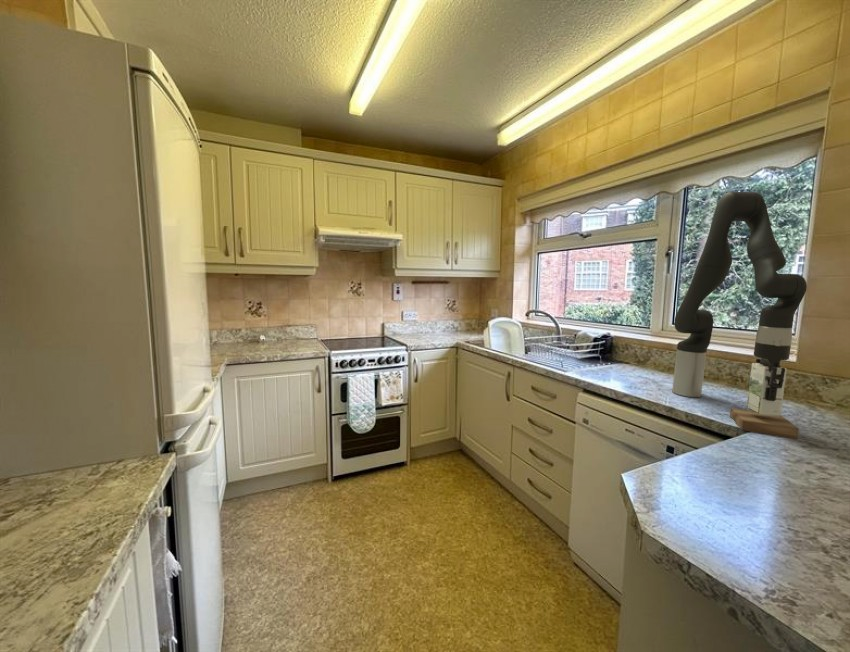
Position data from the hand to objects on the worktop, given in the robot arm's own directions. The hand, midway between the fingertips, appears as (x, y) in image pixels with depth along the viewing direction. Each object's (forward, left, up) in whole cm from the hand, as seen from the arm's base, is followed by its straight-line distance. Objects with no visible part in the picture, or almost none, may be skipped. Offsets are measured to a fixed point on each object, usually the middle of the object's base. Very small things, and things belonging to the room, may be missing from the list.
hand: (765, 396), depth 106 cm
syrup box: (0, 0, -5) cm, 5 cm away
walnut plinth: (0, 0, -9) cm, 9 cm away
